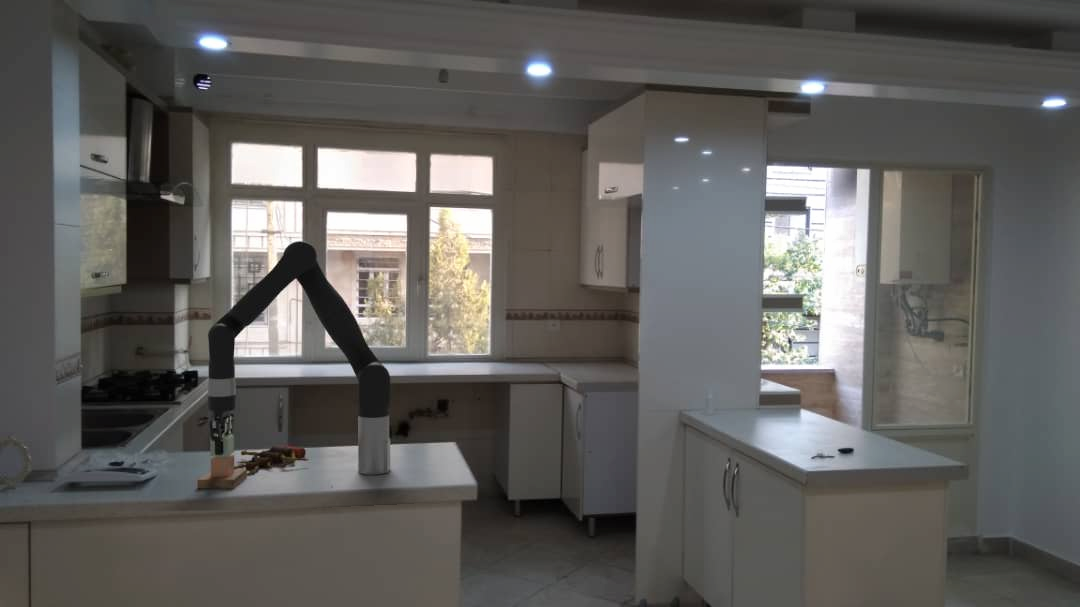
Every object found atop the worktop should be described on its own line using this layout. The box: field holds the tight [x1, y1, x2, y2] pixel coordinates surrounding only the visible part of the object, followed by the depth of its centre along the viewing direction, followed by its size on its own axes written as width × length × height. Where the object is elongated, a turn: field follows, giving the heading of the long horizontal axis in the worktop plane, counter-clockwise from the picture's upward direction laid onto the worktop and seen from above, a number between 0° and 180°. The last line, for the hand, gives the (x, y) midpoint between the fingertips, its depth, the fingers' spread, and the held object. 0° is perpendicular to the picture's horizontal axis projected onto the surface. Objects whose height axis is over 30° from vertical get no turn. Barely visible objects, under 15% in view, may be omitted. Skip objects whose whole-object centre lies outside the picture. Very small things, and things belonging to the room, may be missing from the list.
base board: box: [196, 468, 248, 489], centre depth 242 cm, size 10×12×2 cm
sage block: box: [209, 434, 235, 457], centre depth 241 cm, size 5×5×5 cm
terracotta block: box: [210, 454, 235, 477], centre depth 241 cm, size 5×5×5 cm
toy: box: [234, 445, 310, 476], centre depth 263 cm, size 26×6×30 cm
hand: (222, 452), depth 241 cm, fingers closed on sage block, 5 cm apart
